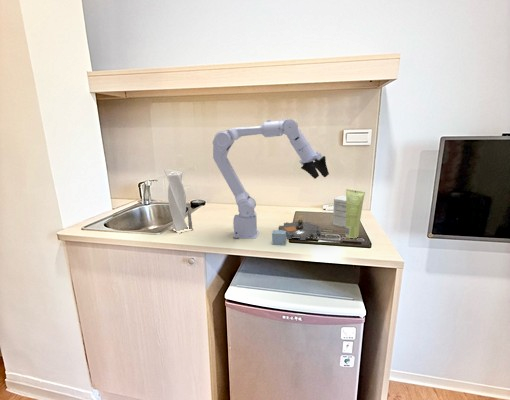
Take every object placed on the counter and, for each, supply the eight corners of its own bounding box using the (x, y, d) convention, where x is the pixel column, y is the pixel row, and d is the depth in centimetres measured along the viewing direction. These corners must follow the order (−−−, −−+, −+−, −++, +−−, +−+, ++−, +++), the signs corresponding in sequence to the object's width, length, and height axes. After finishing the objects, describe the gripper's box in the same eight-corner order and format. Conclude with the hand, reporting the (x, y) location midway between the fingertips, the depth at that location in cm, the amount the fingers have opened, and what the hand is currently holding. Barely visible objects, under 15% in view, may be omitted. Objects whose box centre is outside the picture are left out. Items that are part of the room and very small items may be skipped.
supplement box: (339, 221, 131) (340, 195, 128) (354, 224, 126) (356, 197, 123) (332, 225, 125) (333, 198, 122) (348, 229, 121) (350, 201, 118)
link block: (272, 245, 107) (272, 233, 105) (273, 241, 110) (273, 230, 109) (285, 246, 106) (285, 234, 104) (286, 242, 109) (286, 230, 108)
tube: (357, 235, 114) (360, 188, 109) (361, 240, 109) (365, 191, 104) (343, 235, 114) (346, 189, 109) (347, 240, 109) (349, 191, 104)
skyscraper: (176, 234, 120) (169, 170, 113) (168, 230, 126) (161, 168, 119) (193, 229, 126) (187, 168, 119) (184, 225, 132) (179, 166, 124)
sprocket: (275, 239, 111) (275, 226, 110) (281, 224, 128) (281, 213, 126) (321, 241, 107) (321, 228, 106) (320, 226, 124) (321, 214, 123)
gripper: (319, 137, 100) (339, 168, 102) (302, 145, 114) (319, 172, 116) (305, 148, 99) (325, 179, 101) (289, 155, 112) (307, 182, 115)
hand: (321, 176), depth 108 cm, fingers open, 7 cm apart
